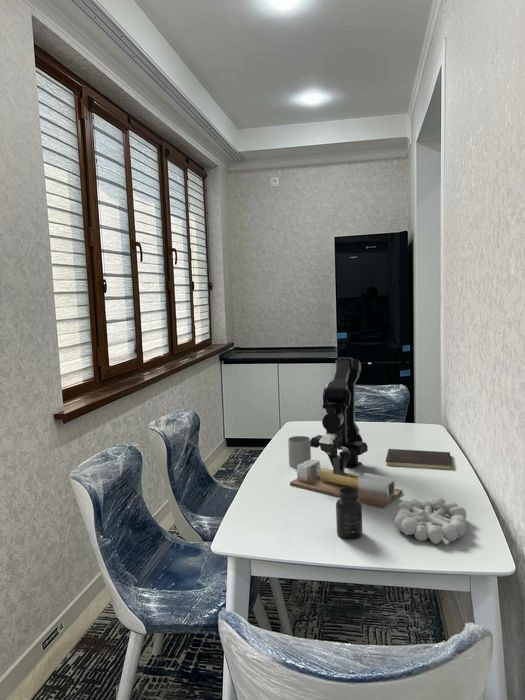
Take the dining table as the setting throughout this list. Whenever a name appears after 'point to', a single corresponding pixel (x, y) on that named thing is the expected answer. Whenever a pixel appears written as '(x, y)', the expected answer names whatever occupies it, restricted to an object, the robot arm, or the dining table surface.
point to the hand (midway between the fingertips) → (338, 470)
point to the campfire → (431, 519)
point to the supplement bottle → (349, 514)
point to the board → (334, 488)
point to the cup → (299, 450)
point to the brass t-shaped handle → (339, 474)
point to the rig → (366, 482)
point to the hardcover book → (418, 459)
